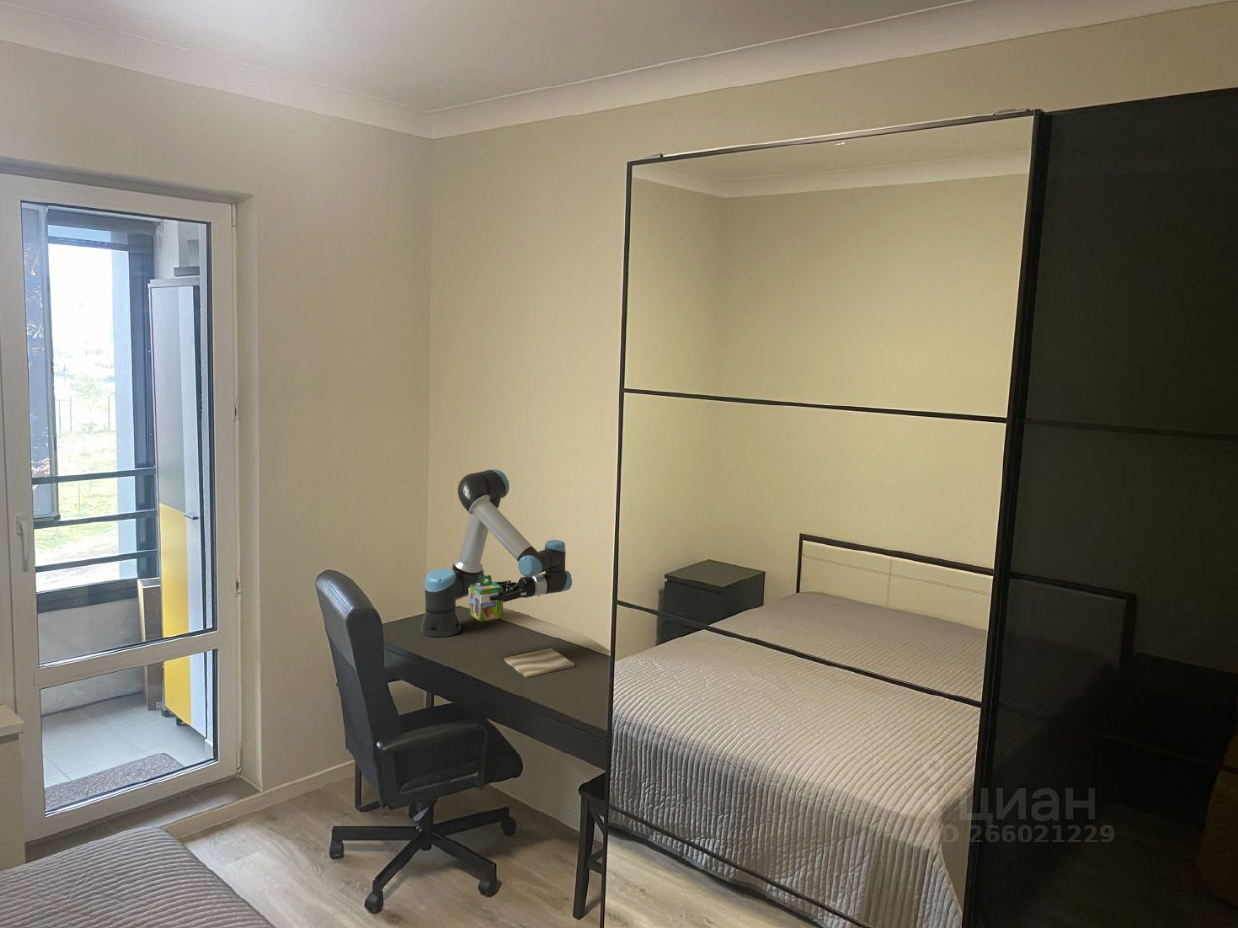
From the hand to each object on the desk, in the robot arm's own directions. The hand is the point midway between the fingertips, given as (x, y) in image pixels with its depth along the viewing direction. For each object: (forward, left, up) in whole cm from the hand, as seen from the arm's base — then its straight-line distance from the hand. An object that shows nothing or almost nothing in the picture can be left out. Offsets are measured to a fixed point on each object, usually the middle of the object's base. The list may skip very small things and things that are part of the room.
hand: (474, 595), depth 309 cm
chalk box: (0, +4, -9) cm, 10 cm away
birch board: (+15, +18, -24) cm, 33 cm away
